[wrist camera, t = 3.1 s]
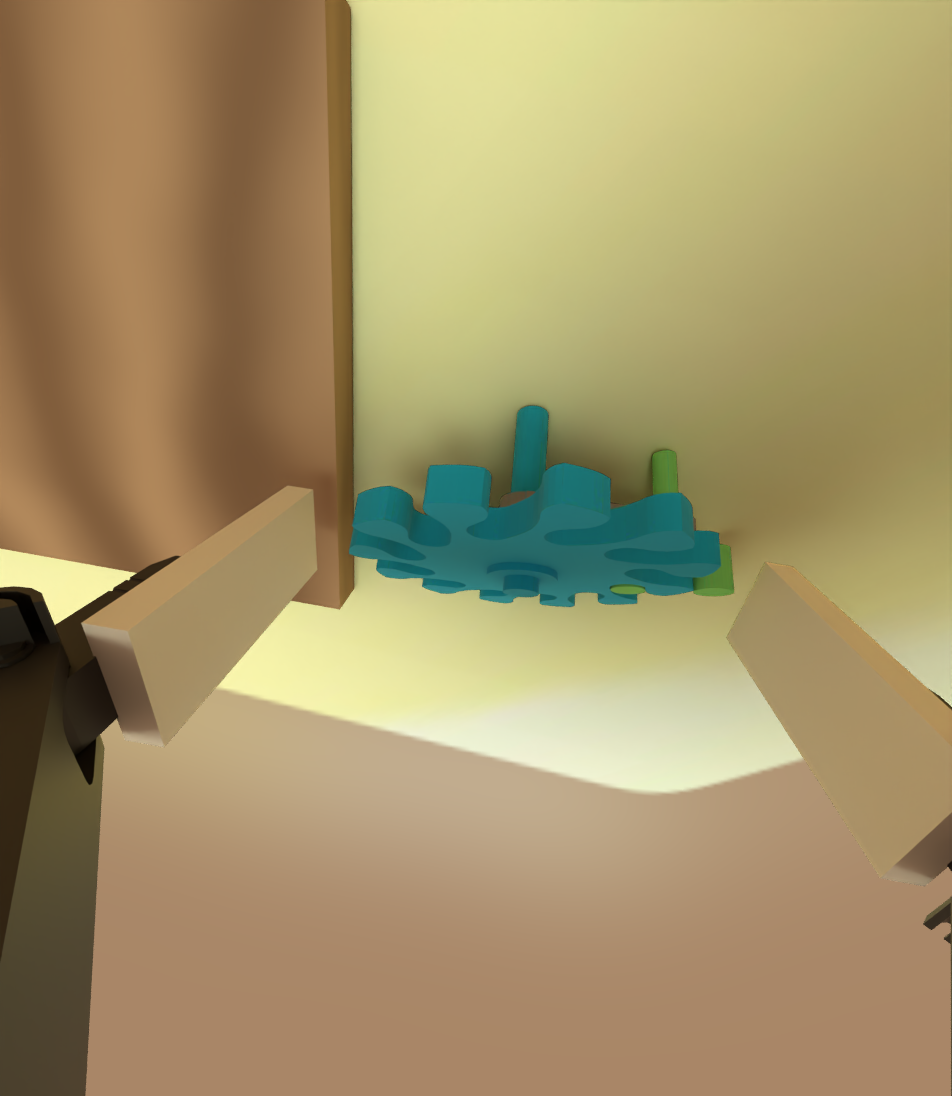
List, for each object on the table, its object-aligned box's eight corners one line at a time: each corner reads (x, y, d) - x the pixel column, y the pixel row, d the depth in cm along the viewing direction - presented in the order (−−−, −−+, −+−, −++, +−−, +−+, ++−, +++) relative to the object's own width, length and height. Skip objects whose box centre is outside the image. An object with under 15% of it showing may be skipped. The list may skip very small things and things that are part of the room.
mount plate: (350, 7, 10) (324, -39, 9) (353, 589, 18) (339, 609, 17) (-314, -67, 11) (-426, -118, 10) (-39, 519, 19) (-81, 533, 18)
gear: (364, 601, 17) (290, 499, 7) (389, 464, 18) (356, 235, 9) (638, 634, 18) (896, 583, 8) (636, 500, 19) (846, 330, 10)
